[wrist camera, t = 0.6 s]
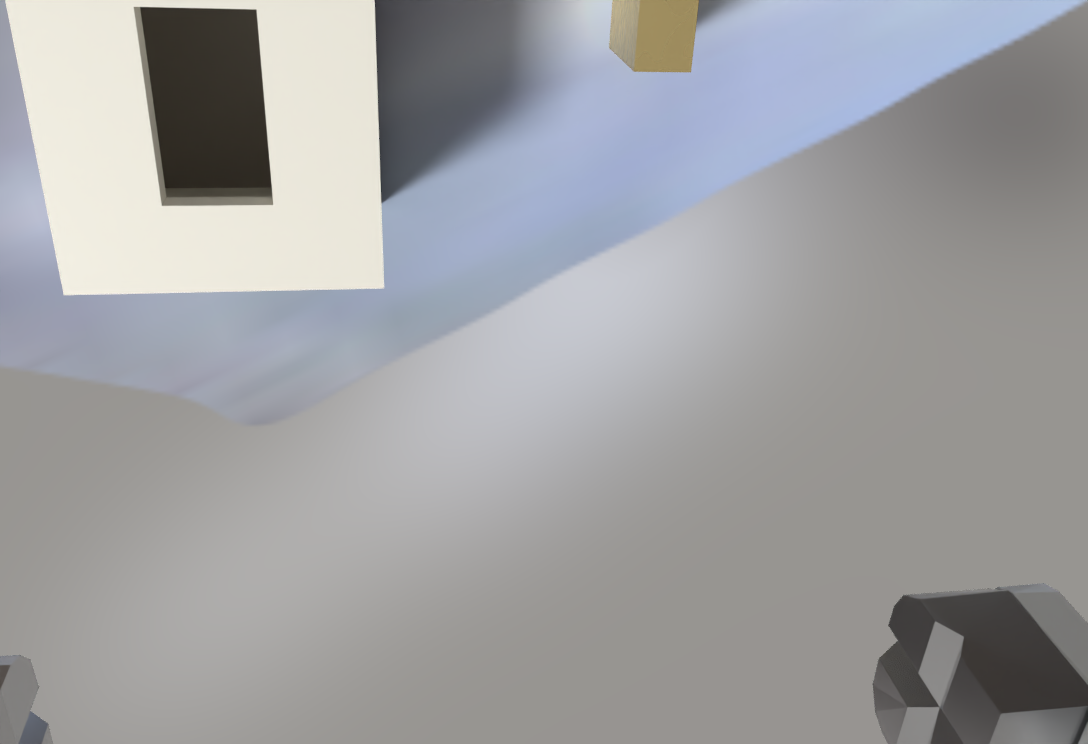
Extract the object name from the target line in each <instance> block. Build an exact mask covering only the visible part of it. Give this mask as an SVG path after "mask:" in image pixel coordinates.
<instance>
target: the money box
mask: <svg viewBox="0 0 1088 744" xmlns="http://www.w3.org/2000/svg"><path fill="white" fill-rule="evenodd" d="M5 1H6V6H7V11H8V16H9V21H10V26H11V31H12V36H13V41H14V46H15V51H16V56H17V62H18V67H19V72H20V77H21V82H22V87H23V92H24V97H25V102H26V107H27V112H28V117H29V122H30V127H31V132H32V137H33V142H34V147H35V152H36V157H37V162H38V167H39V172H40V177H41V182H42V187H43V192H44V197H45V202H46V207H47V212H48V217H49V223H50V228H51V233H52V238H53V243H54V248H55V253H56V258H57V263H58V268H59V273H60V278H61V283H62V288H63V293H64V295H94V294H141V293H189V292H237V291H284V290H332V289H379V288H384V273H383V242H382V212H381V181H380V151H379V120H378V90H377V60H376V29H375V0H5Z"/></svg>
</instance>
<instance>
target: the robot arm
mask: <svg viewBox="0 0 1088 744" xmlns="http://www.w3.org/2000/svg"><path fill="white" fill-rule="evenodd" d="M888 626H889V627H890V629H891V631H892V632H893V634H894V636H895V637H896V639H897V640H898V641H897V642H896V643H895V644H894V645H893V646H892V647H891V648H890V649H889V650H887V651H886V653H884V654H883V655H882V656H881V657H880V658H879V660H878V664H877V668H876V672H875V677H874V681H873V693H874V704H875V713H876V716H877V719H878V722H879V725H880V728H881V731H882V733H883V735H884V737H885V739H886V741H887V743H888V744H1088V623H1087V622H1086V621H1085V620H1084V619H1083V618H1082V616H1081V615H1080V614H1079V613H1078V612H1077V611H1076V610H1075V609H1074V607H1073V606H1072V605H1071V604H1070V603H1069V602H1068V601H1067V600H1066V599H1065V597H1064V596H1063V595H1062V594H1061V593H1060V592H1059V591H1057V590H1056V589H1054V588H1052V587H1050V586H1048V585H1046V584H1044V583H1043V584H1032V585H1019V586H1007V587H997V588H995V589H989V588H988V589H975V590H963V591H949V592H936V593H923V594H910V595H903V596H902V598H901V599H900V600H899V601H898V602H897V603H896V604H895V606H894V608H893V611H892V615H891V618H890V621H889V625H888ZM38 688H39V686H38V683H37V679H36V676H35V673H34V669H33V666H32V663H31V660H30V659H28V658H26V657H24V656H21V655H13V656H0V744H53V742H52V737H51V733H50V729H49V725H48V723H46V722H45V721H44V720H42V719H41V718H40V717H38V716H37V715H35V714H34V713H32V712H31V711H30V710H31V708H32V705H33V702H34V699H35V697H36V694H37V691H38Z"/></svg>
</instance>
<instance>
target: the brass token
mask: <svg viewBox="0 0 1088 744" xmlns="http://www.w3.org/2000/svg"><path fill="white" fill-rule="evenodd" d="M698 4H699V0H613V2H612V16H611V29H610V43H609V48H610V49H611V50H612V51H613V52H614V53H615V54H616V55H617V56H618V57H619V58H620V59H621V60H622V61H623V62H624V63H625V64H626V65H628V66H629V67H630V68H631V69H632V70H633V71H634V72H691V66H692V57H693V48H694V40H695V31H696V22H697V13H698Z"/></svg>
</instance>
